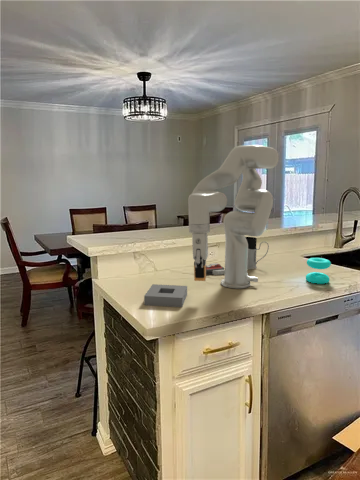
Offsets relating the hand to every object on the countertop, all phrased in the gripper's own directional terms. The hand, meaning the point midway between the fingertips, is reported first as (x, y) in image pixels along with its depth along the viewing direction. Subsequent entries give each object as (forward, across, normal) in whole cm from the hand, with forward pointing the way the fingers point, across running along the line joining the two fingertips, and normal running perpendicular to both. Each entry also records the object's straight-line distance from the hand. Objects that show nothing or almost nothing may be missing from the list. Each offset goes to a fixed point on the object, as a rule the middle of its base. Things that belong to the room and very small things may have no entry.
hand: (200, 275), depth 137 cm
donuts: (+13, +31, -49) cm, 60 cm away
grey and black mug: (+13, +51, -22) cm, 57 cm away
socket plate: (+9, -2, +13) cm, 16 cm away
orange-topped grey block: (+2, 0, 0) cm, 2 cm away
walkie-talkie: (+12, +39, -5) cm, 42 cm away
